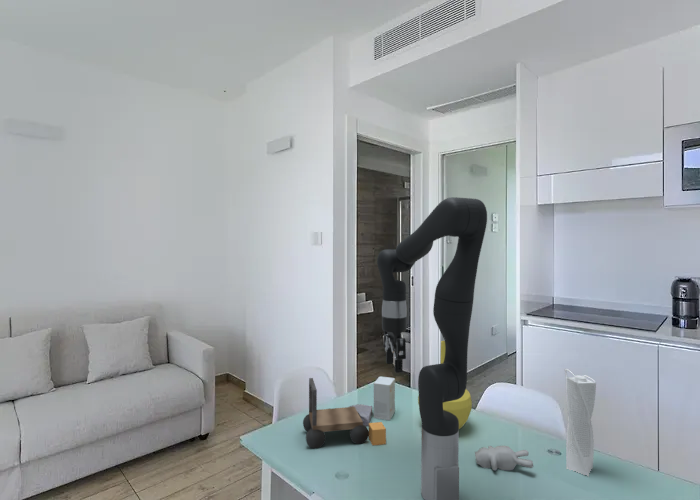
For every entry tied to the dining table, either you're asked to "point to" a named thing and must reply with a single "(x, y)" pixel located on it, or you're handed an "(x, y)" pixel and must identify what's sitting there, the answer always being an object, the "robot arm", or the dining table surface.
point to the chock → (377, 433)
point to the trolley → (331, 421)
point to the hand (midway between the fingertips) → (393, 367)
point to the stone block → (364, 412)
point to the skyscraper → (580, 423)
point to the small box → (384, 398)
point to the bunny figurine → (501, 458)
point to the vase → (459, 406)
